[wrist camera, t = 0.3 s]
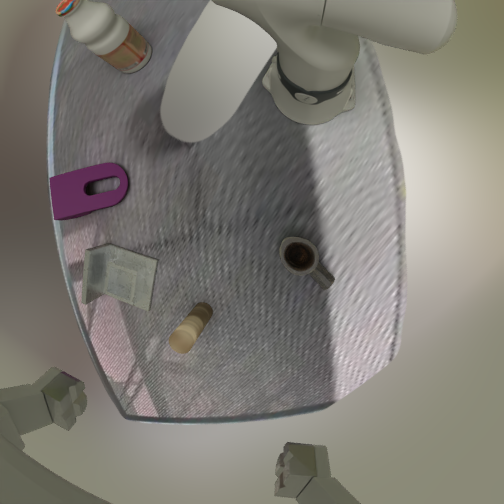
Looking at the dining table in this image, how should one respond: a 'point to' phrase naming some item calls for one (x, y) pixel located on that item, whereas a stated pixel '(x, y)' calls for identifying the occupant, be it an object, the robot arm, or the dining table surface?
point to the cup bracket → (119, 275)
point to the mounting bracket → (74, 191)
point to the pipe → (304, 260)
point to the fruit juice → (105, 34)
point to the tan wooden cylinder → (190, 328)
